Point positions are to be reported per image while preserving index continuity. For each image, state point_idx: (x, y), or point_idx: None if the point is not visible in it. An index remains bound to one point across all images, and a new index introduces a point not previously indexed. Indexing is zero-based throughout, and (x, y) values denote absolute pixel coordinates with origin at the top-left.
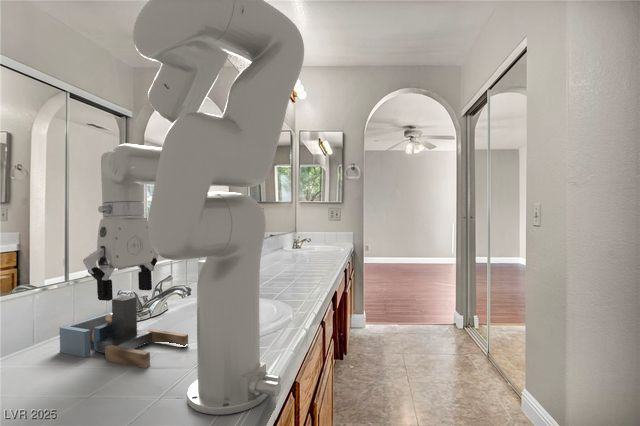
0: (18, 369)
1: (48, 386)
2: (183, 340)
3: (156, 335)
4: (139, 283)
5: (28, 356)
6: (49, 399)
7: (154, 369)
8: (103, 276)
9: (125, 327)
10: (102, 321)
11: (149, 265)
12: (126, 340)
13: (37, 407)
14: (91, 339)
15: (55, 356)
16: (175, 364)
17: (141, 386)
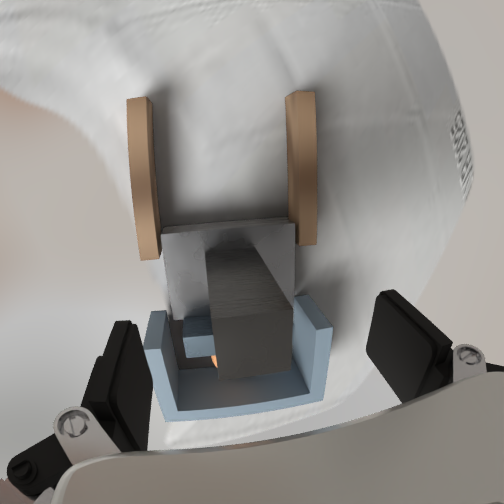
0: None
1: (417, 218)
2: (148, 101)
3: (155, 216)
4: (149, 401)
5: (335, 383)
6: (440, 170)
7: (296, 72)
8: (482, 355)
9: (256, 262)
10: (211, 398)
11: (89, 450)
12: (255, 237)
13: (455, 164)
14: None
15: None
16: (251, 45)
17: (362, 47)
